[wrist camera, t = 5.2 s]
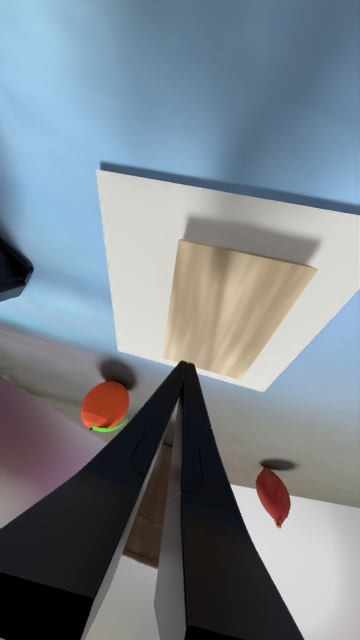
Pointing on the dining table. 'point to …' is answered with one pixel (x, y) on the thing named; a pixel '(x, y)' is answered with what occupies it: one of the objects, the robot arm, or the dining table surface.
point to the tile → (228, 305)
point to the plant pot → (151, 514)
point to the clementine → (105, 406)
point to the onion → (273, 495)
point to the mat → (226, 231)
